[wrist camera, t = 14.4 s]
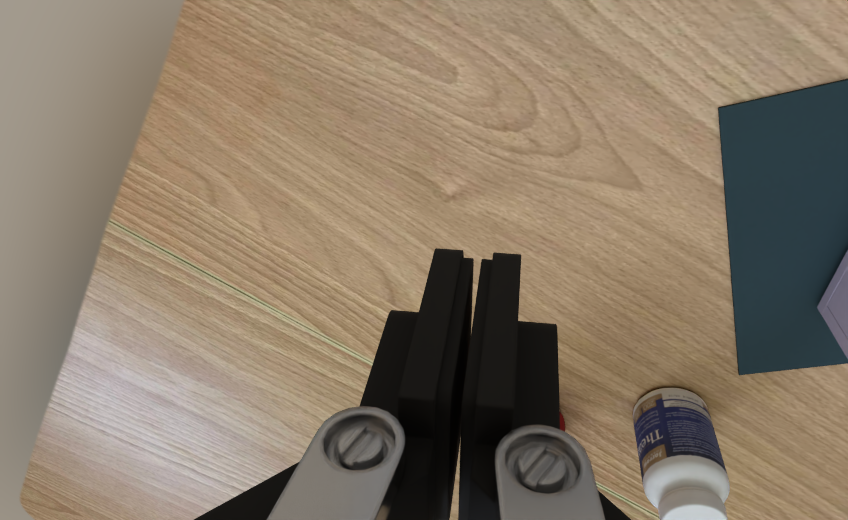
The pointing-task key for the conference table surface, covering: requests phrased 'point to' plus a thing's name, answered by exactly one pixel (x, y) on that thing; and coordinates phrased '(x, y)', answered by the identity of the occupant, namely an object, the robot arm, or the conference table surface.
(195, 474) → the conference table surface
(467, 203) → the conference table surface
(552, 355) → the robot arm
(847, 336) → the lavender lidded box
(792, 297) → the mat
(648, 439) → the pill bottle
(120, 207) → the conference table surface
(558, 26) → the conference table surface
